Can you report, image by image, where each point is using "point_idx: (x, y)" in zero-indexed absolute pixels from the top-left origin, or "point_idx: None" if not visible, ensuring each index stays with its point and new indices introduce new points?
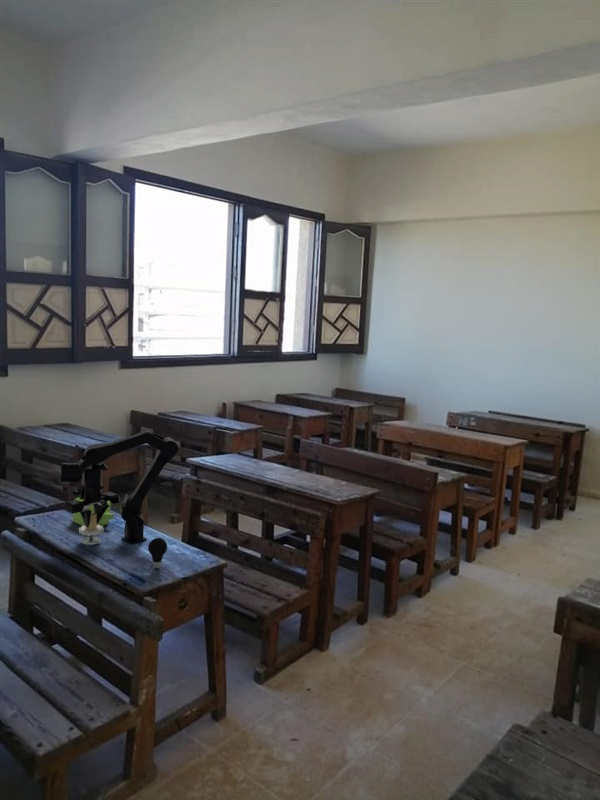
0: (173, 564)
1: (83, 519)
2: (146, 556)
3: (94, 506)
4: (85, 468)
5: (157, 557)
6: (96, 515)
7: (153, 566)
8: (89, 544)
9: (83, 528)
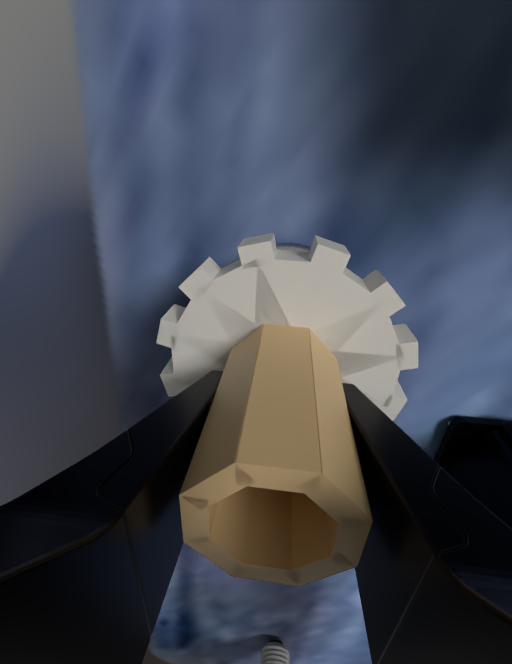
0: (340, 654)
1: (145, 429)
2: (336, 588)
3: (509, 653)
4: None
5: None
6: (318, 560)
7: (261, 650)
8: None
9: (216, 321)
